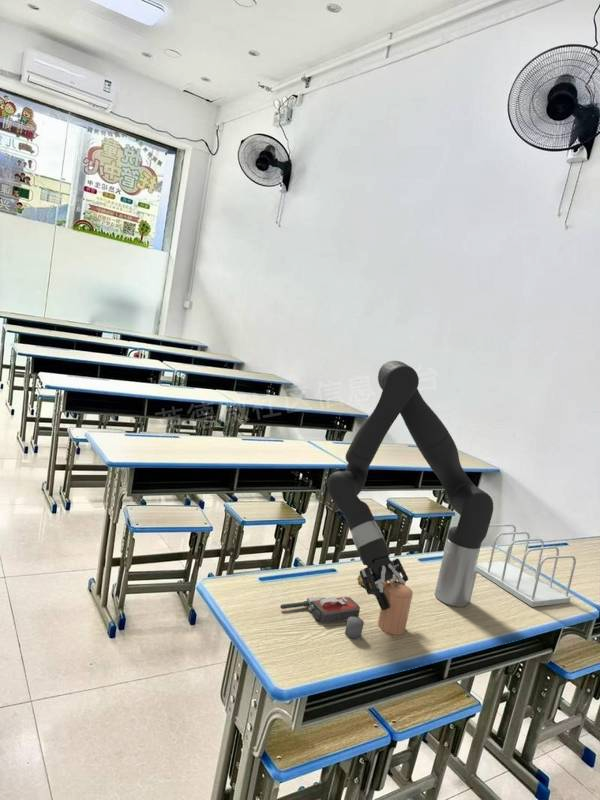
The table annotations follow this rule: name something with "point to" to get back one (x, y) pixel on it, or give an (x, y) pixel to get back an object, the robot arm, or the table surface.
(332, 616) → the walkie-talkie
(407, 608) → the cup
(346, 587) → the table surface
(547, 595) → the file sorter
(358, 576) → the pastry
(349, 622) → the gray rounded pebble
